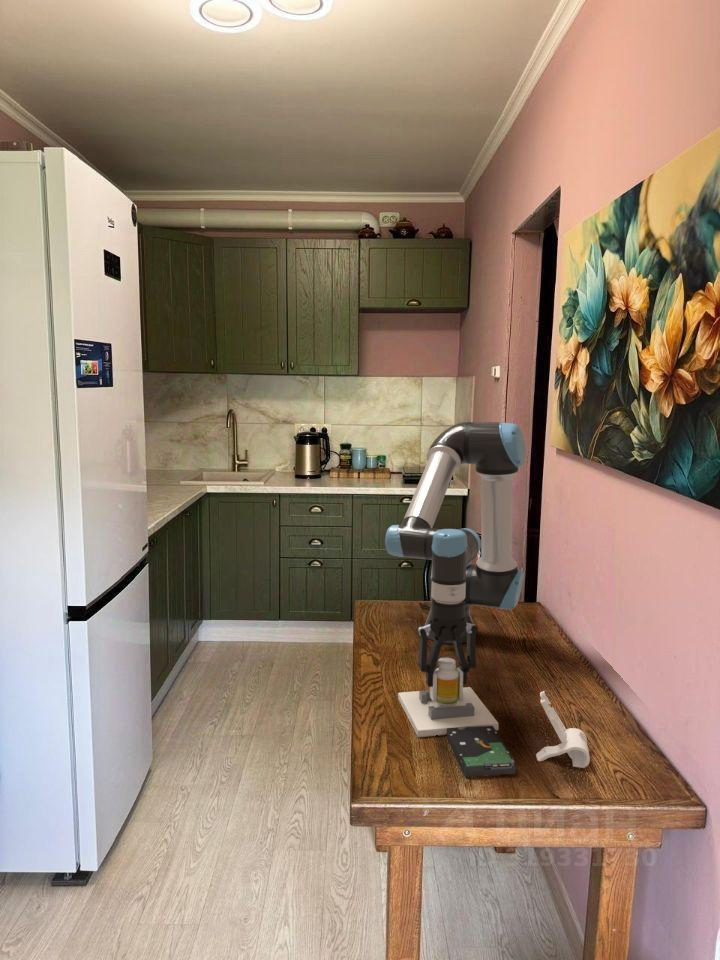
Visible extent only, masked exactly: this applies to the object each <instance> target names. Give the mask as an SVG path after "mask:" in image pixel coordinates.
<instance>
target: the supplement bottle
mask: <svg viewBox="0 0 720 960" xmlns="http://www.w3.org/2000/svg"><path fill="white" fill-rule="evenodd" d="M456 668H457V662H456V659H454V658H452V657H440V658H438V660H437V668H435V670H434V671H435V672H436V673H437V702H436V703H437V704H438V705H441V706H446V707H449V706H454V705H456V704H457V703H458V683H459V673H458V671H457V669H456Z"/></svg>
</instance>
